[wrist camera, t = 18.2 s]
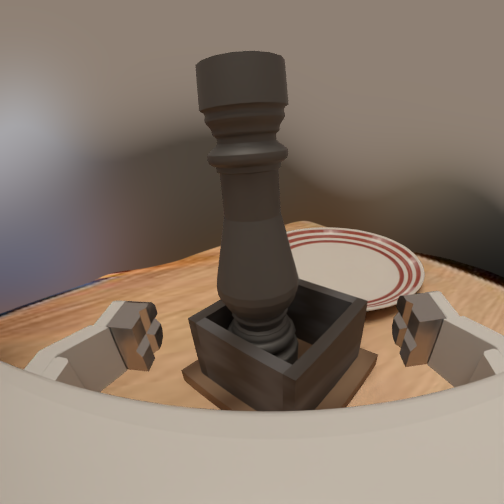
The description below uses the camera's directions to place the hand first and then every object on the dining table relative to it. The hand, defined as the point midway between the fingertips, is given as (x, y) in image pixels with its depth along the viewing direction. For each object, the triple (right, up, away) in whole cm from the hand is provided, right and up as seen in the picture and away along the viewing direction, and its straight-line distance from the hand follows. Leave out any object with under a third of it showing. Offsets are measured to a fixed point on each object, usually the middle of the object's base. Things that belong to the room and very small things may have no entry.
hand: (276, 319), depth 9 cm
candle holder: (0, -9, +17) cm, 19 cm away
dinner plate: (+13, -2, +36) cm, 38 cm away
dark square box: (+2, -10, +17) cm, 20 cm away
